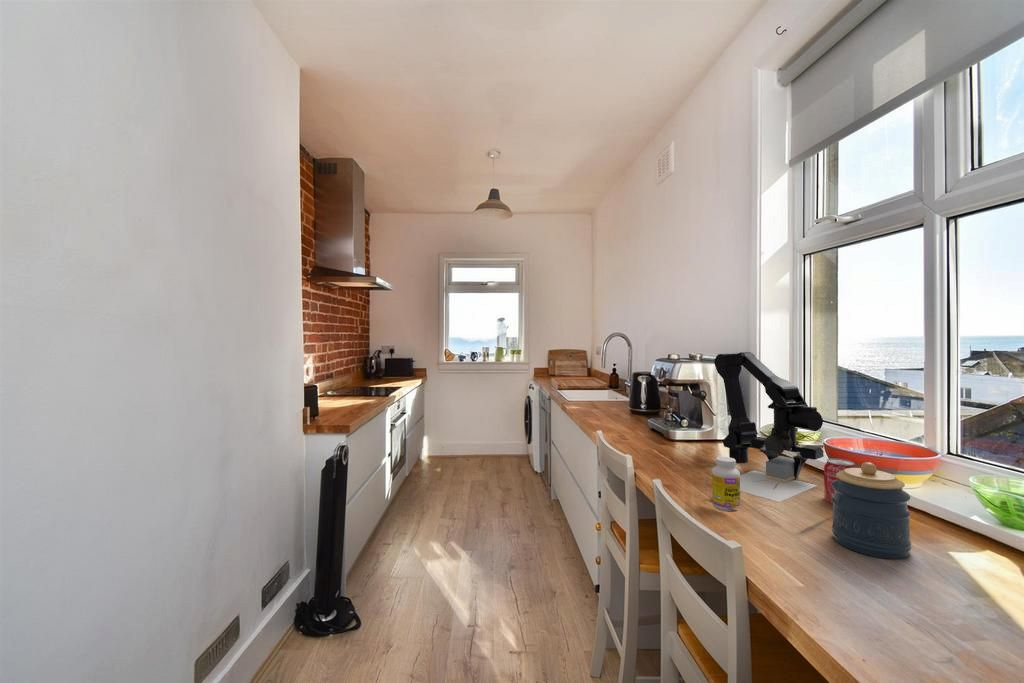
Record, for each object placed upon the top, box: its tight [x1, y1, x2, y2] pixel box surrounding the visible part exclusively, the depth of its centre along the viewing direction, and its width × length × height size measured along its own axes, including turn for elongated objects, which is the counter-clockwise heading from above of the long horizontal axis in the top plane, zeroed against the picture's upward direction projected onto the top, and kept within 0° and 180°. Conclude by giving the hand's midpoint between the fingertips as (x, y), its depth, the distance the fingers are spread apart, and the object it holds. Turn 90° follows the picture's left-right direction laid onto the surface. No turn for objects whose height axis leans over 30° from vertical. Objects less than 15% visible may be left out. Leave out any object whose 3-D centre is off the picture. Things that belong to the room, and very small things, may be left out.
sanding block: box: [765, 455, 801, 483], centre depth 132 cm, size 9×6×5 cm, turn 123°
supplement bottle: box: [711, 456, 741, 513], centre depth 114 cm, size 7×7×13 cm
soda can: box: [823, 458, 856, 505], centre depth 112 cm, size 7×7×12 cm
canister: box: [831, 461, 912, 560], centre depth 92 cm, size 13×13×18 cm
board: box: [740, 470, 818, 503], centre depth 126 cm, size 22×18×2 cm
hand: (785, 475), depth 133 cm, fingers closed on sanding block, 5 cm apart
